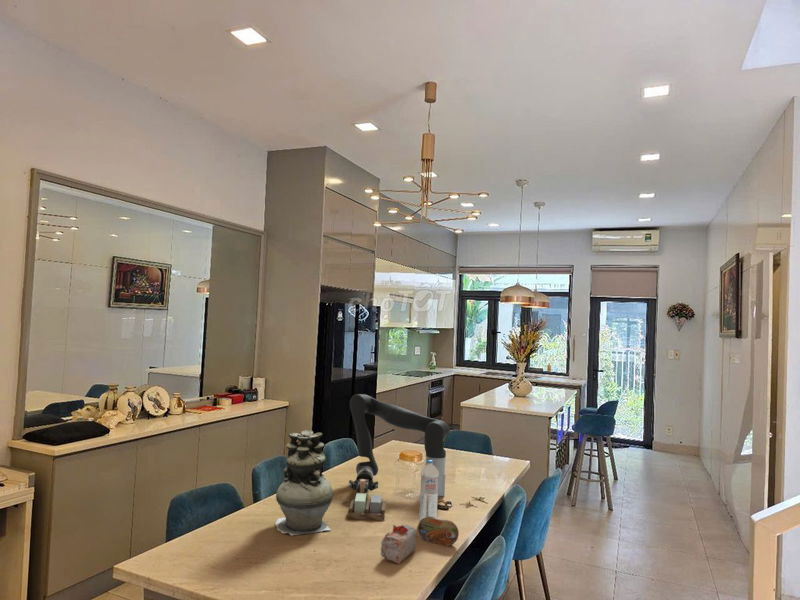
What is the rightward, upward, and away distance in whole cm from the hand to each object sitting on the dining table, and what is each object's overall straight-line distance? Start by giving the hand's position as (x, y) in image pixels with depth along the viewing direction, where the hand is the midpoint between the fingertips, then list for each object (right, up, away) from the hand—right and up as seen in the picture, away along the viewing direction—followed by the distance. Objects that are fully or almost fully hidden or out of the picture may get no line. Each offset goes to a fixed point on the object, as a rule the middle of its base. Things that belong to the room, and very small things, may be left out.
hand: (362, 490), depth 224 cm
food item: (+16, -5, -47) cm, 49 cm away
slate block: (+6, -7, -8) cm, 12 cm away
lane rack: (+3, -6, -8) cm, 11 cm away
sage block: (0, -6, -4) cm, 8 cm away
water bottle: (+27, -7, -19) cm, 33 cm away
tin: (+30, -7, -34) cm, 45 cm away
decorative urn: (-20, -5, -25) cm, 32 cm away
